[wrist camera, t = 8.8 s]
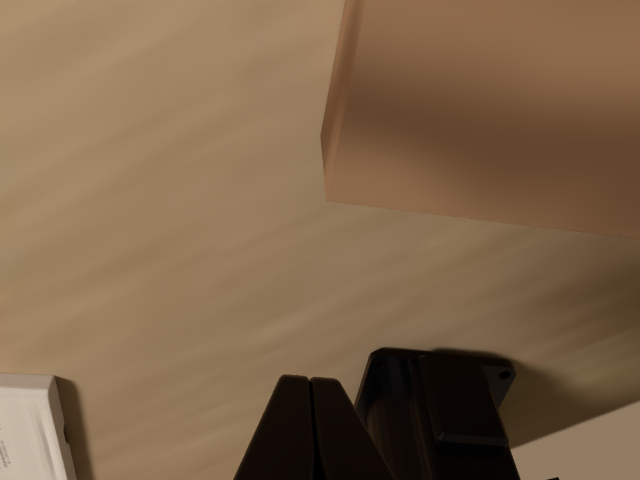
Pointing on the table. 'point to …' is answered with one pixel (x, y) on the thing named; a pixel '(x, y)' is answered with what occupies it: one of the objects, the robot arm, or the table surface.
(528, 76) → the brown wooden block
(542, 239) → the table surface
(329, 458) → the robot arm
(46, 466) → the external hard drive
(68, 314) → the table surface
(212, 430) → the table surface
